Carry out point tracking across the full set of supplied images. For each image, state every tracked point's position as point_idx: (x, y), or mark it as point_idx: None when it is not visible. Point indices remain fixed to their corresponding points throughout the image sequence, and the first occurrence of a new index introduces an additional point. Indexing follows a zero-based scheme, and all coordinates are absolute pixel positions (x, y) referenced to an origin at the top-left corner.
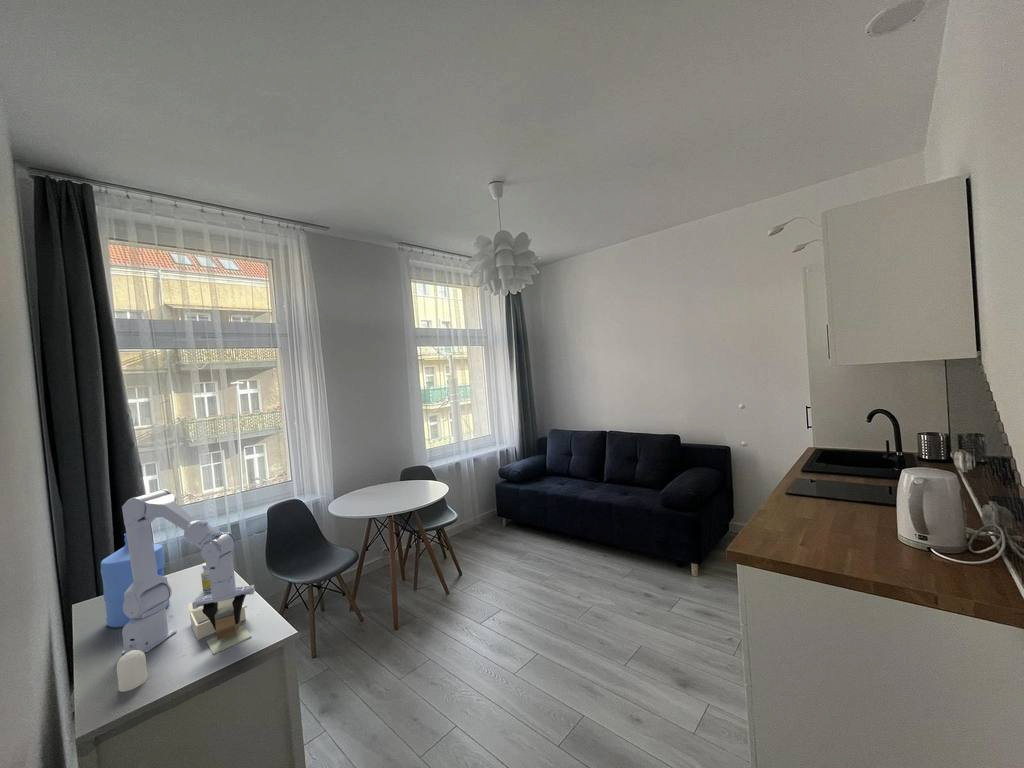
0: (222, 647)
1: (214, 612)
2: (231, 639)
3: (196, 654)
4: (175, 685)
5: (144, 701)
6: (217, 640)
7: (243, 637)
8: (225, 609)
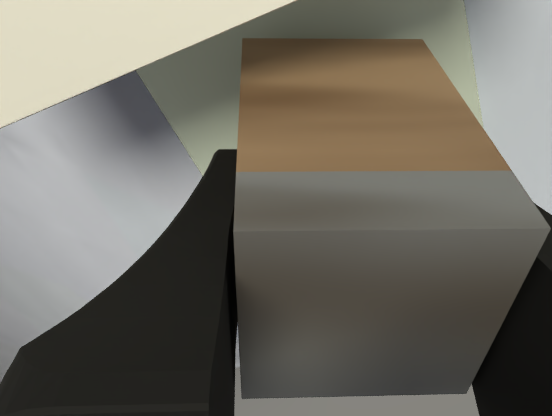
0: None
1: (232, 402)
2: None
3: (111, 174)
4: None
5: None
6: (220, 81)
7: None
8: (362, 330)
